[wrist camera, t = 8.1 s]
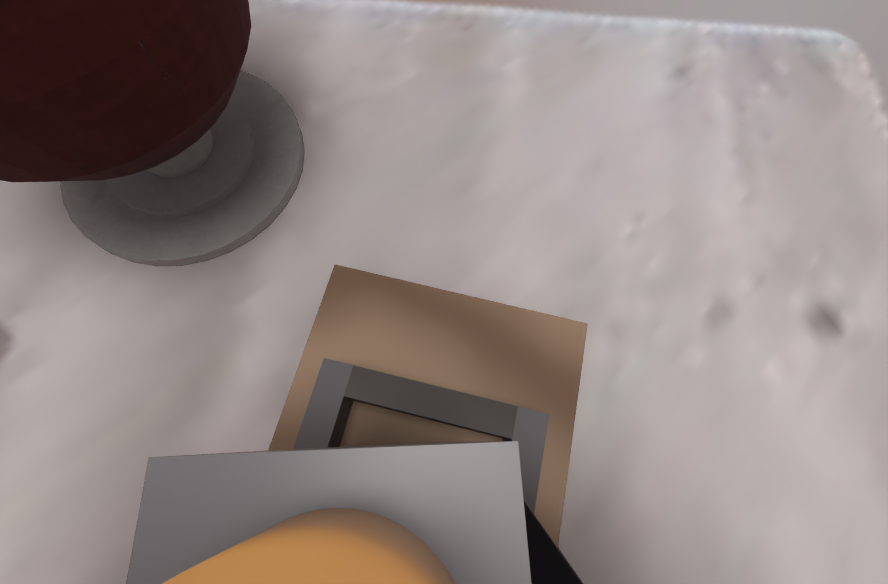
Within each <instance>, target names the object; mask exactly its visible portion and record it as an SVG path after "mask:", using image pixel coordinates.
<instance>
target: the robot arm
mask: <svg viewBox="0 0 888 584" xmlns="http://www.w3.org/2000/svg"><path fill="white" fill-rule="evenodd" d="M524 510H525V520H526V531H527V542H528V552H529V563H530V574H531V584H583V582H582V581H581V579H580V578H579V577H578V575H577V574H576V572H575V571H574V570H573V568H572V567H571V565H570V564H569V562H568V561H567V560H566V558H565V557H564V555H563V554H562V553H561V551H560V550H559V548H558V547H557V546H556V544H555V543H554V541H553V540H552V538H551V537H550V536H549V534H548V533H547V531H546V530H545V529H544V527H543V526H542V524H541V523H540V522H539V520H538V519H537V517H536V516H535V514H534V513H533V512H532V510H531V509H530V507H529V506H528V505H527V503H526V502H525V500H524Z"/></svg>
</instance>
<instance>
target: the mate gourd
mask: <svg viewBox="0 0 888 584" xmlns="http://www.w3.org/2000/svg"><path fill="white" fill-rule="evenodd" d="M250 29H251V20H250V11H249V2H248V0H0V180H3V181H9V182H49V181H61V191H62V196H63V202H64V205H65V207H66V209H67V211H68V214H69V216H70V218H71V220H72V222H73V223H74V224H75V225H76V226H77V227H78V229H79V230H80V231H81V232H82V233H83V234H84V235H85V237H87V238H88V239H90V240H91V241H93V242H94V243H96V244H97V245H99V246H100V247H101V248H103V249H105V250H106V251H108V252H110V253H112V254H114V255H116V256H119V257H121V258H124V259H127V260H129V261H132V262H135V263H141V264H147V265H153V266H182V265H187V264H192V263H197V262H202V261H207V260H210V259H212V258H215V257H218V256H220V255H223V254H226V253H228V252H231V251H233V250H234V249H236V248H238V247H240V246H241V245H243V244H245V243H247V242H248V241H250V240H252V239H253V238H254V237H256V236H257V235H258V234H259V233H261V232H262V231H263V230H264V229H265V228H267V227H268V226H269V225H270V224H271V223H272V222H273V221H274V220H275V219H276V218H277V216H278V215H279V214H280V213H281V212H282V211H283V209H284V208H285V207H286V205H287V204H288V202H289V200H290V199H291V197H292V195H293V193H294V192H295V190H296V188H297V185H298V182H299V179H300V176H301V173H302V170H303V160H304V145H303V138H302V133H301V130H300V128H299V125H298V123H297V121H296V118H295V116H294V114H293V111H292V109H291V108H290V106H289V105H288V104H287V102H286V101H285V100H284V98H283V97H282V95H281V94H279V93H278V92H277V91H276V90H275V89H274V88H272V87H271V86H270V85H269V84H268V83H266V82H264V81H262V80H260V79H259V78H257V77H255V76H253V75H251V74H248V73H245V72H242V71H240V70H241V67H242V64H243V61H244V58H245V55H246V52H247V48H248V41H249V35H250Z"/></svg>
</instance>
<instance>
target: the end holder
mask: <svg viewBox="0 0 888 584" xmlns="http://www.w3.org/2000/svg"><path fill="white" fill-rule="evenodd" d="M586 331H587V323H583V322H578V321H574V320H570V319H565V318H561V317H557V316H553V315H548V314H544V313H540V312H536V311H531V310H527V309H523V308H518V307H514V306H510V305H506V304H501V303H497V302H493V301H489V300H484V299H480V298H476V297H471V296H467V295H463V294H459V293H454V292H450V291H446V290H442V289H437V288H433V287H429V286H424V285H420V284H416V283H412V282H407V281H403V280H399V279H394V278H390V277H386V276H382V275H377V274H373V273H369V272H365V271H360V270H356V269H352V268H347V267H343V266H339V265H334V268H333V271H332V274H331V277H330V279H329V282H328V285H327V288H326V291H325V293H324V296H323V299H322V302H321V305H320V307H319V310H318V313H317V316H316V319H315V321H314V324H313V327H312V330H311V333H310V335H309V338H308V341H307V344H306V347H305V349H304V352H303V355H302V358H301V361H300V363H299V366H298V369H297V372H296V375H295V377H294V380H293V383H292V386H291V389H290V391H289V394H288V397H287V400H286V403H285V405H284V408H283V411H282V414H281V417H280V419H279V422H278V425H277V428H276V431H275V433H274V436H273V439H272V442H271V445H270V447H269V450H268V451H273V450H292V449H310V448H328V447H346V446H369V445H392V444H415V443H438V442H461V441H518V446H519V457H520V467H521V478H522V489H523V499H524V500H525V502H526V503H527V505H528V506H529V507H530V509H531V510H532V512H533V513H534V514H535V516H536V517H537V519H538V520H539V522H540V523H541V524H542V526H543V527H544V529H545V530H546V531H547V533H548V534H549V536H550V537H551V538H552V540H553V541H554V543H555V544H556V546H557V547H558V541H559V534H560V526H561V519H562V511H563V504H564V496H565V489H566V481H567V474H568V466H569V459H570V451H571V444H572V436H573V429H574V421H575V414H576V406H577V399H578V391H579V384H580V376H581V369H582V361H583V354H584V346H585V339H586Z"/></svg>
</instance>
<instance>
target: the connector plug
mask: <svg viewBox="0 0 888 584" xmlns="http://www.w3.org/2000/svg"><path fill="white" fill-rule="evenodd" d="M126 584H531V574H530V563H529V552H528V542H527V531H526V520H525V510H524V499H523V489H522V478H521V467H520V457H519V446H518V441H461V442H438V443H415V444H392V445H369V446H346V447H328V448H310V449H292V450H273V451H255V452H237V453H219V454H201V455H183V456H165V457H149V459H148V465H147V470H146V476H145V481H144V487H143V493H142V498H141V504H140V509H139V515H138V520H137V526H136V532H135V537H134V543H133V548H132V554H131V559H130V565H129V571H128V576H127V582H126Z"/></svg>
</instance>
